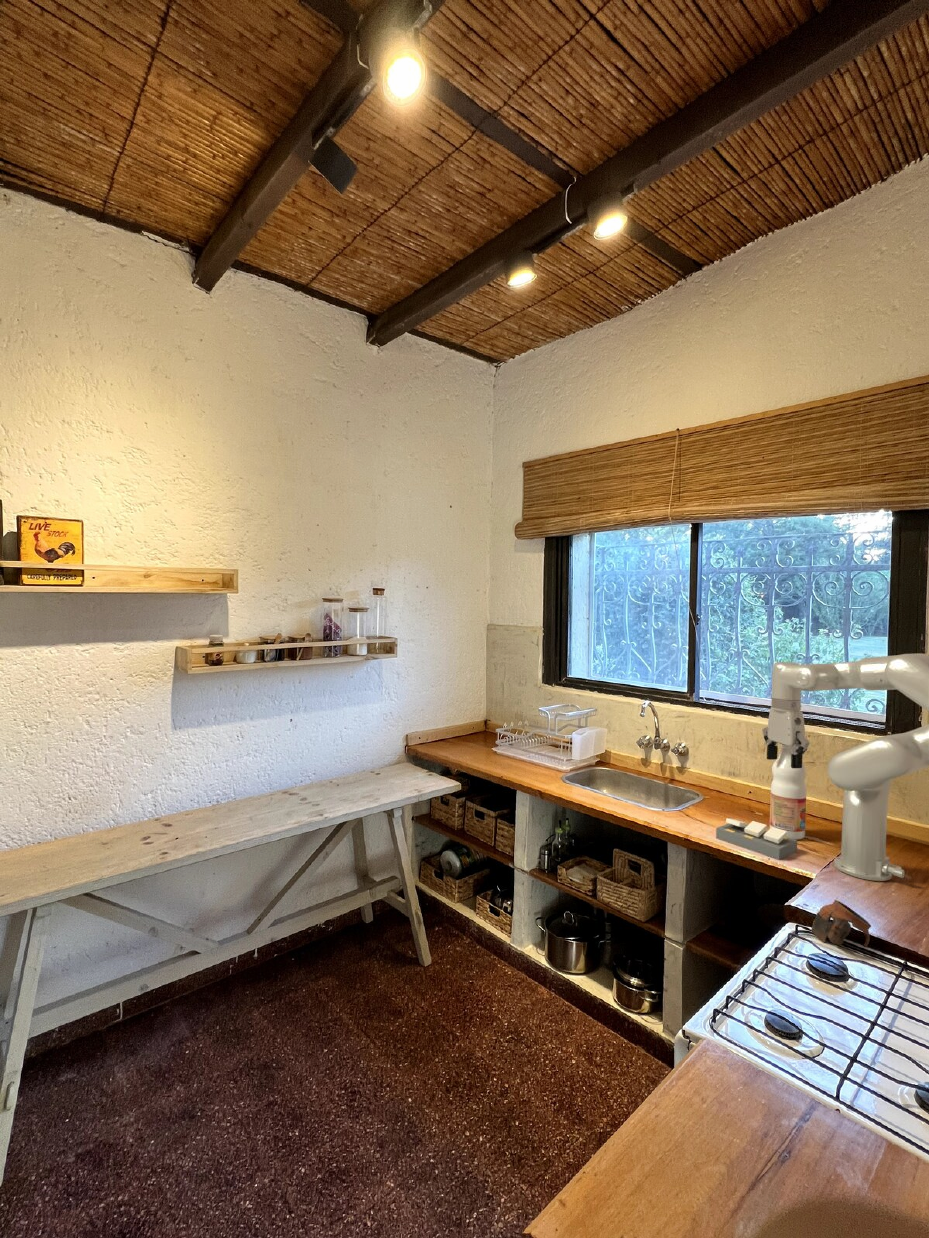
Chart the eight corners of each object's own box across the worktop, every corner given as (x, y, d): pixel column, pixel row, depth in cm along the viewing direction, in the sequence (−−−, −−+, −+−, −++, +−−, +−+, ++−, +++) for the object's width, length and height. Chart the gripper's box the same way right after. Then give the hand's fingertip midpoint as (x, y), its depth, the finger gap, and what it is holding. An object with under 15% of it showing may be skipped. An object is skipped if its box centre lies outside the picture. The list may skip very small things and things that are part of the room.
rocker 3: (787, 836, 165) (786, 831, 165) (778, 844, 162) (778, 839, 162) (772, 831, 169) (772, 826, 168) (764, 839, 166) (763, 834, 165)
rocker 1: (747, 828, 174) (748, 823, 174) (739, 827, 171) (739, 822, 171) (734, 824, 177) (735, 819, 177) (725, 823, 174) (726, 818, 174)
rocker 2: (767, 829, 170) (766, 825, 169) (758, 837, 167) (758, 833, 167) (753, 825, 173) (752, 820, 173) (744, 833, 170) (744, 828, 170)
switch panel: (796, 851, 166) (797, 840, 166) (778, 860, 160) (779, 848, 160) (734, 830, 180) (735, 820, 180) (716, 838, 174) (716, 827, 174)
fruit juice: (764, 827, 184) (767, 737, 184) (797, 830, 182) (800, 739, 182) (775, 838, 174) (778, 743, 174) (810, 841, 173) (813, 745, 173)
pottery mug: (807, 923, 128) (829, 892, 128) (853, 958, 123) (876, 925, 122) (806, 933, 118) (830, 900, 118) (856, 972, 113) (881, 937, 112)
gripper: (820, 709, 165) (818, 771, 165) (775, 700, 182) (773, 755, 182) (797, 710, 163) (795, 772, 164) (754, 700, 180) (752, 756, 180)
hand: (783, 763), depth 173 cm, fingers open, 9 cm apart
